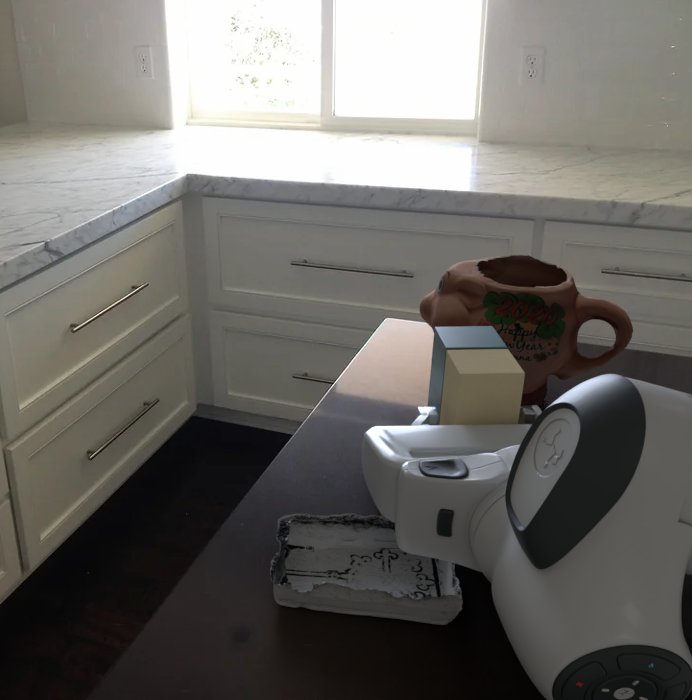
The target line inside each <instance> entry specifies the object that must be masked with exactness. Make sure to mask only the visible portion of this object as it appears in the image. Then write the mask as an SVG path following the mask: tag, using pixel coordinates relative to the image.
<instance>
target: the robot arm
mask: <svg viewBox="0 0 692 700" xmlns="http://www.w3.org/2000/svg"><path fill="white" fill-rule="evenodd" d="M438 420H439V414H438V412H437V411H436V407H428V406H416V411H415V419H414V421H413V422H412V423H411V424H410V425H375V426H372V427H370V428H369V429H368V430H366V431H365V432H364V434H363V435H362V436H363V437H362V443H361V470H362V474H363V475H362V476H363V479H364V482H365V484H366V487H367V489H368V492H369V495H370V496H371V499H372V501H373V503H374V505H375V506H376V508H377V510H378V511H379V513H380V512H381V514H382V515H383V516H384V517H385V518H387V519H388V520H390V521H391V522H393V523H395V534H396V542H397V545H398V547H399V548H400V549H401V550H402V551H404V552H406V553H410V554H414V555H420V556H425V557H430V558H435V559H440V560H444V561H448V562H452V563H455V565H459V566H462V567H466V568H468V569H471V570H473V571H476V572H480V573H482V574H483V576H484V577H485V578H486V579H487V581H488V582H489V583H490V584H491V587H490V588H491V589H490V590H491V596H492V601H493V605H494V608H495V611H496V613H497V615H498V618H499V620H500V623H501V625H502V628H503V630H504V632H505V634H506V636H507V639H508V641H509V643H510V645H511V648H512V649H513V651H514V653H515V655H516V657H517V659H518V661H519V663H520V665H521V667H522V668H523V670H524V672H525V673H526V675H527V676H528V678H529V679H530V681H531V683H532V684H533V685H534V687H535V688H536V689H537V690H538V692H539V693H540V694H541V695H542V697H543V698H544V699H545V700H685V699H686V698H687V697H688V696H689V694H691V691H692V653H691V650H690V647H689V645H688V643H687V642H688V641H687V640H686V638H685V635H684V629H683V622H682V601H683V599H682V598H683V589H684V582H685V576H686V575H688V576H692V394H691V393H687V392H683V391H680V390H676V389H674V388H673V389H672V388H669V387H666V386H661V385H658V384H654V383H651V382H647V381H643V380H640V379H636V378H631V377H627V376H624V375H621V374H617V373H605V374H601V375H597V376H595V377H591V378H589V379H587V380H585V381H582V382H581V383H578V384H576V385H575V386H573V387H572V388H571V389H568V390H567V391H566V392H564V393H563V394H562V395H560V396H559V397H558V398H557V399H555V400H554V401H553V402H552V403H551V404H549V405H548V406H547V407H546V408H545V409H544V410H543V411H542V410H541V408H540V407H539V406H538V405H524V406H520V413H519V420H518V424H503V425H437V423H438Z"/></svg>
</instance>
